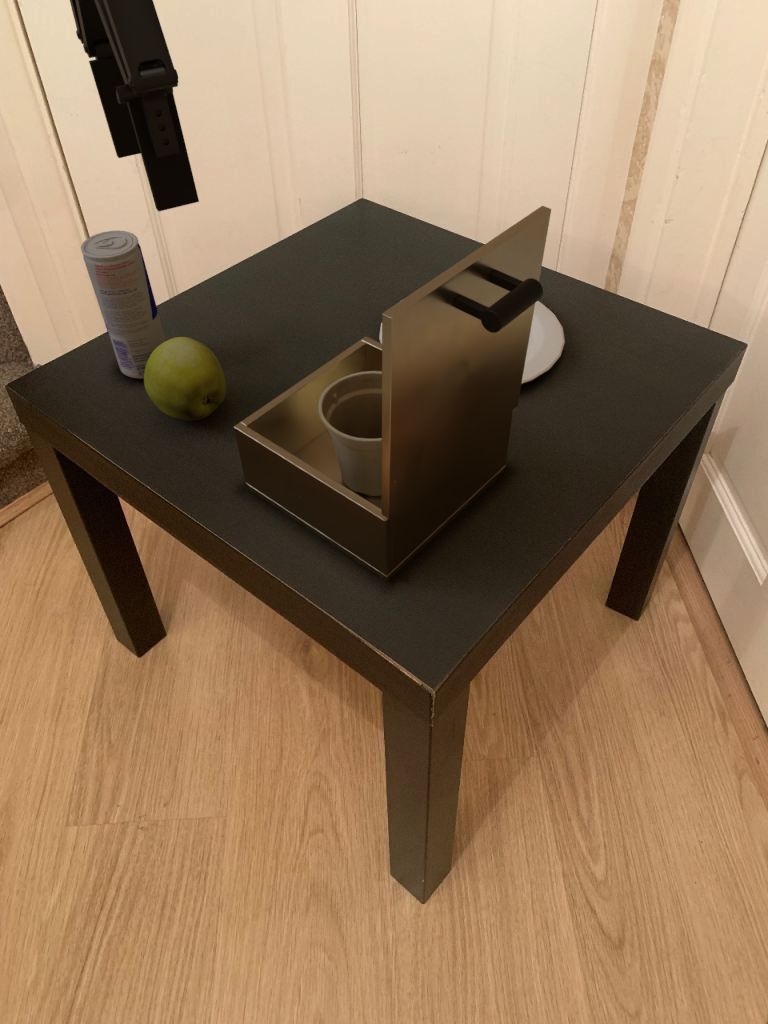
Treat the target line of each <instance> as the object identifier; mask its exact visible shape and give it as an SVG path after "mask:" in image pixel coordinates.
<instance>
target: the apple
mask: <svg viewBox="0 0 768 1024" xmlns="http://www.w3.org/2000/svg"><path fill="white" fill-rule="evenodd" d="M143 384H144V389H145V391H146V393H147V396H148V397H149V399H150V400H151V402H152V403H153V404H154V405H155V406H156V407H157V408H158V409H159V411H161V412H162V413H164V414H166V415H167V416H169V417H171V418H174V419H176V420H181V421H200V420H203V419H206V418H208V416H210V415H211V414H213V412H215V411H216V409H217V408H218V407H219V406H220V405H221V404H222V403H223V401H224V400H225V398H226V394H227V380H226V376H225V373H224V370H223V368H222V366H221V364H220V362H219V360H218V357H217V356H216V354H215V353H214V352H213V351H212V350H211V349H210V348H209V347H208V346H206V345H205V344H204V343H202V342H200V341H198V340H196V339H194V338H191V337H187V336H177V337H172V338H170V339H167V340H166V341H165V342H163V343H162V344H161V345H159V346H158V347H157V348H156V349H155V350H154V351H153V352H152V354H151V355H150V357H149V359H148V361H147V363H146V367H145V372H144V378H143Z"/></svg>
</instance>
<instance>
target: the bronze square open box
mask: <svg viewBox="0 0 768 1024" xmlns="http://www.w3.org/2000/svg"><path fill="white" fill-rule="evenodd" d="M366 371H367V372H368V371H382V344H381V343H380V341H379V342H378V341H377V340H375V339H372V338H371V337H369V336H364V337H363V338H361V339H360V340H358V341H357V342H355V343H354V344H353V345H351V346H349V347H348V348H347V349H345V350H343V351H342V352H340V353H339V354H338V355H336V356H335V357H333V358H332V359H331V360H329V361H328V362H326V363H325V364H323V365H321V366H320V367H319V368H318V369H316V370H314V371H313V372H311V373H310V374H308V375H307V376H306V377H304V378H303V379H301V380H300V381H299V382H297V383H295V384H294V385H292V386H291V387H289V388H288V389H286V390H285V391H284V392H282V393H281V394H280V395H278V396H276V397H275V398H274V399H272V400H271V401H269V402H267V403H266V404H265V405H263V406H262V407H260V408H259V409H258V410H256V411H254V412H253V413H252V414H250V415H249V416H247V417H245V418H244V419H243V420H242V421H240V422H239V423H237V424H235V425H234V426H233V430H234V434H235V439H236V444H237V449H238V453H239V458H240V463H241V468H242V474H243V477H244V482H245V486H246V489H247V490H248V491H250V492H251V493H253V494H254V495H256V496H257V497H259V498H261V499H262V500H263V501H265V502H267V503H268V504H269V505H271V506H273V507H274V508H275V509H277V510H278V511H280V512H281V513H283V514H284V515H286V516H287V517H288V518H290V519H292V520H294V522H297V523H298V524H299V525H301V526H302V527H304V528H305V529H307V530H308V531H309V532H311V533H312V534H315V535H316V536H318V537H319V538H320V539H322V540H323V541H325V542H326V543H328V545H329V544H330V545H331V546H332V547H333V548H335V549H337V550H338V551H339V552H341V553H343V554H344V555H346V556H347V557H349V558H351V559H352V560H353V561H355V562H357V563H358V564H360V565H361V566H362V567H364V568H365V569H366V570H368V571H370V572H371V573H373V574H374V575H376V576H378V577H379V578H380V579H382V580H383V581H385V582H389V581H390V580H391V579H392V578H393V577H394V576H395V575H396V574H398V572H399V571H400V570H401V569H402V568H404V567H405V566H406V565H407V564H408V563H409V562H410V561H411V560H412V559H413V558H415V556H416V555H418V553H419V552H420V551H422V550H423V549H424V548H425V547H426V546H427V545H428V544H429V543H430V542H431V541H433V540H434V539H435V538H436V537H437V536H438V534H440V532H442V531H443V530H444V529H445V528H446V527H447V526H448V525H449V524H450V523H451V522H452V521H454V519H456V518H457V517H458V516H460V515H461V513H462V512H463V511H464V510H465V509H466V508H468V506H469V505H471V503H472V502H474V501H475V500H476V499H477V498H478V497H480V495H481V494H483V492H484V491H485V490H487V489H488V488H489V487H490V486H491V485H492V483H494V482H495V481H496V480H497V479H498V478H499V477H501V475H503V474H504V473H505V472H506V469H507V468H506V467H507V460H508V452H509V446H510V445H509V444H510V435H511V430H512V429H511V428H512V421H513V413H514V409H513V410H512V411H511V412H510V413H509V414H508V415H507V416H506V417H504V418H503V419H502V420H501V421H500V422H499V423H498V424H496V425H495V426H494V427H493V428H492V429H491V430H490V431H488V432H487V433H486V434H485V435H484V436H483V437H482V438H481V439H479V440H478V441H477V442H476V443H475V444H474V445H473V446H471V447H470V448H469V449H468V450H467V451H466V452H465V453H464V454H462V455H461V456H460V457H459V458H458V459H457V460H456V461H454V462H453V463H452V464H451V465H450V466H449V467H448V468H446V469H445V470H444V471H443V472H442V473H441V474H440V475H439V476H437V477H436V478H435V479H434V480H433V481H432V482H431V483H429V484H428V485H427V486H426V487H425V488H424V489H423V490H421V491H420V492H419V493H418V494H417V495H416V496H415V497H414V498H412V499H411V500H410V501H409V502H408V503H407V504H406V505H404V506H403V507H402V508H401V509H400V510H399V511H398V512H397V513H395V514H394V515H393V516H392V517H391V518H390V519H388V518H386V517H385V516H383V515H382V514H381V509H382V495H380V496H368V495H366V494H364V493H361V492H355V491H353V490H351V489H350V488H349V487H348V486H347V485H346V484H345V483H344V481H343V479H342V474H341V470H340V466H339V462H338V458H337V455H336V451H335V448H334V444H333V440H332V436H331V435H330V433H329V431H328V430H327V427H326V426H325V425H324V423H323V422H322V420H321V418H320V415H319V411H318V403H319V399H320V397H321V395H322V393H323V392H324V391H325V389H326V388H327V387H328V386H330V385H331V384H332V383H333V382H335V381H337V380H339V379H340V378H343V377H345V376H348V375H351V374H355V373H359V372H366Z"/></svg>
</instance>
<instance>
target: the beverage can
mask: <svg viewBox="0 0 768 1024" xmlns="http://www.w3.org/2000/svg"><path fill="white" fill-rule="evenodd" d="M138 238H139V237H137V236H136V235H135V234H134V233H133V232H130V231H126V230H108V231H102V232H99V233H96V234H94V235H91V236H89V237H88V238H86V239H85V240H84V241H83V242H82V243H81V245H80V251H81V254H82V257H83V261H84V264H85V267H86V270H87V274H88V277H89V279H90V283H91V285H92V288H93V292H94V295H95V298H96V300H97V304H98V307H99V310H100V313H101V316H102V319H103V322H104V325H105V328H106V331H107V334H108V337H109V340H110V343H111V346H112V349H113V352H114V355H115V358H116V361H117V364H118V368H119V371H120V372H121V373H122V374H123V375H125V376H127V377H129V378H132V379H140V380H141V379H144V372H145V367H146V363H147V361H148V359H149V357H150V355H151V354H152V352H153V351H154V350H155V349H156V348H157V347H158V346H159V345H161V344H162V343H163V342H165V341H167V340H166V337H165V332H164V329H163V326H162V322H161V318H160V315H159V314H160V313H159V311H158V308H157V302H156V299H155V295H154V293H153V289H152V284H151V280H150V277H149V274H148V270H147V265H146V262H145V259H144V255H143V251H142V248H141V244H140V243H139V239H138Z"/></svg>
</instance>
